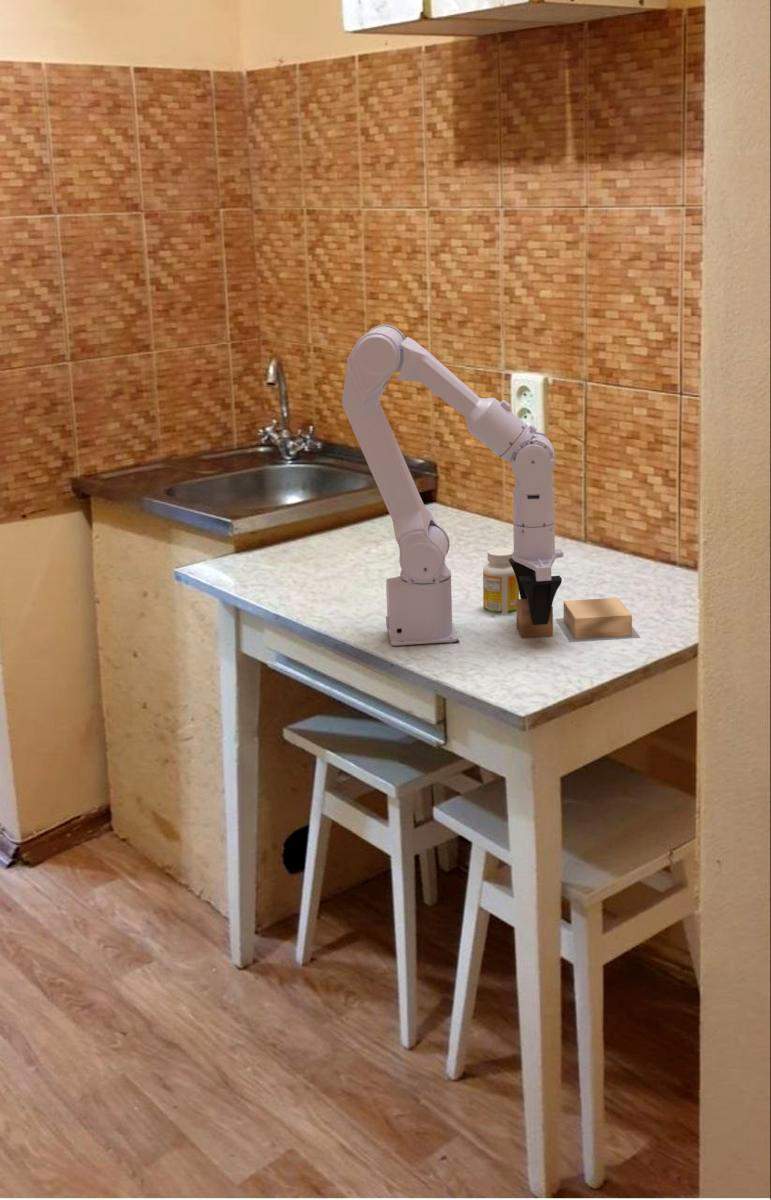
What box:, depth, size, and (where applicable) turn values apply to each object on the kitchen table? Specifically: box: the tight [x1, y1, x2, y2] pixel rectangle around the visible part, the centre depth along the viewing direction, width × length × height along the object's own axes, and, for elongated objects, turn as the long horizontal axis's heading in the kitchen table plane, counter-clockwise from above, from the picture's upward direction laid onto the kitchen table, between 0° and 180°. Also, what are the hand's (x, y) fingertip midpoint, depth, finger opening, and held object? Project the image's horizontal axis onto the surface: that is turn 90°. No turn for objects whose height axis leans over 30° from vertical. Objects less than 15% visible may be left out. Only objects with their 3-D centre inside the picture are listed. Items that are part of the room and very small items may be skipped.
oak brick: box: [563, 597, 633, 639], centre depth 184 cm, size 8×8×3 cm
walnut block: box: [515, 598, 554, 639], centre depth 184 cm, size 4×4×5 cm
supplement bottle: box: [482, 547, 520, 616], centre depth 193 cm, size 5×5×10 cm
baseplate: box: [555, 617, 642, 643], centre depth 185 cm, size 10×10×1 cm
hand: (534, 615), depth 183 cm, fingers open, 7 cm apart
